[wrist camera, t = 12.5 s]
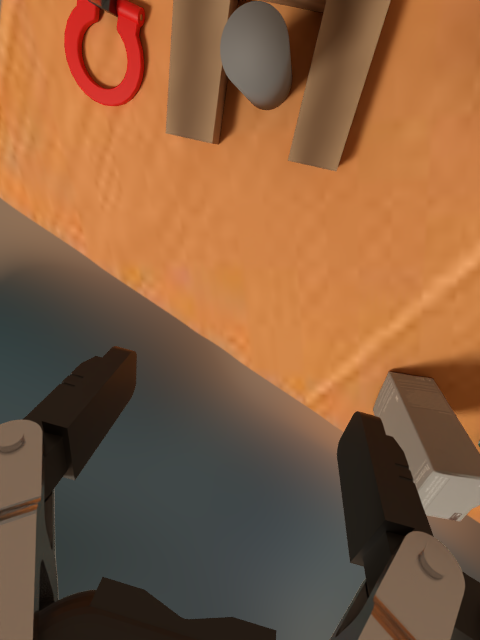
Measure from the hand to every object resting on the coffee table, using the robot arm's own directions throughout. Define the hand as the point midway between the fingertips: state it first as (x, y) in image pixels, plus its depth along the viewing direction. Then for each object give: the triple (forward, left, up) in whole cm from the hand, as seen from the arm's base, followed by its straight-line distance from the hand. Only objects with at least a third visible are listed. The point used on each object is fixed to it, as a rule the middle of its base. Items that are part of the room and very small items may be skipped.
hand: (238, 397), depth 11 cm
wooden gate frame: (+5, -14, -30) cm, 34 cm away
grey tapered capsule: (+5, -13, -30) cm, 33 cm away
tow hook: (+22, -13, -30) cm, 40 cm away
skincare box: (-24, +20, -30) cm, 44 cm away
